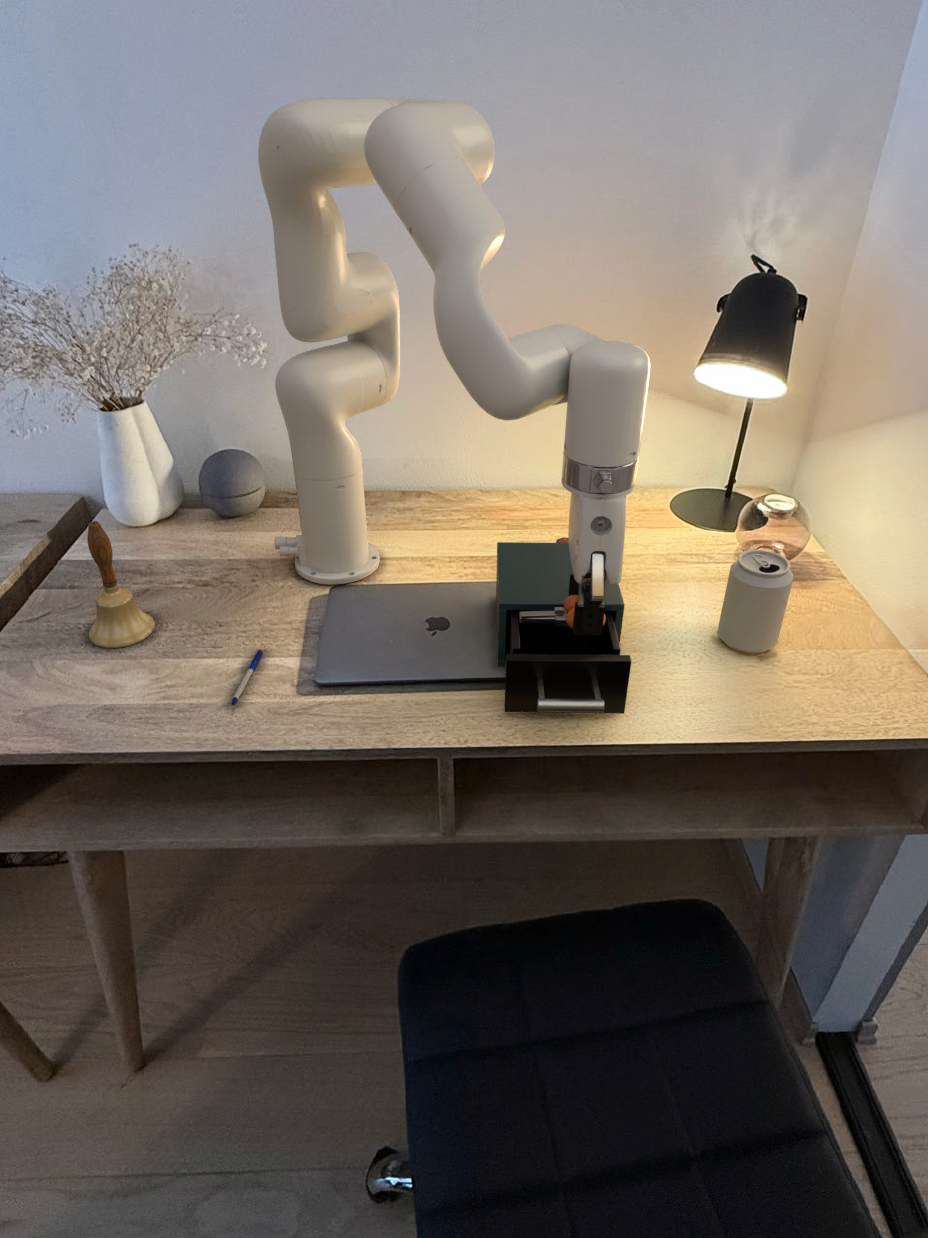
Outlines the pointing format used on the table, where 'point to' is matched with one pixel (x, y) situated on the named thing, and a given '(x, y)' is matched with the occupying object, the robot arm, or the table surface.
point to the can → (755, 601)
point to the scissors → (554, 614)
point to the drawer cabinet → (538, 585)
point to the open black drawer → (564, 669)
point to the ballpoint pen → (247, 676)
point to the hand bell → (114, 601)
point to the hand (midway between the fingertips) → (584, 617)
